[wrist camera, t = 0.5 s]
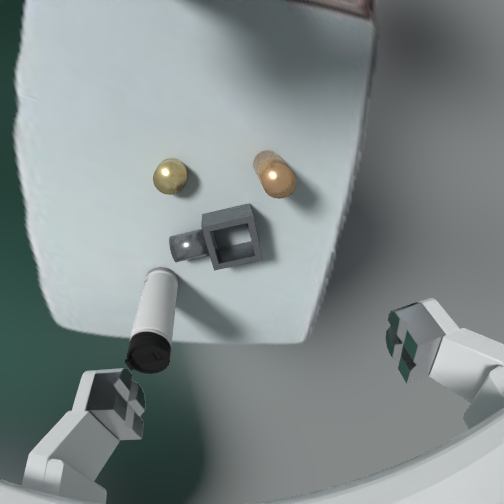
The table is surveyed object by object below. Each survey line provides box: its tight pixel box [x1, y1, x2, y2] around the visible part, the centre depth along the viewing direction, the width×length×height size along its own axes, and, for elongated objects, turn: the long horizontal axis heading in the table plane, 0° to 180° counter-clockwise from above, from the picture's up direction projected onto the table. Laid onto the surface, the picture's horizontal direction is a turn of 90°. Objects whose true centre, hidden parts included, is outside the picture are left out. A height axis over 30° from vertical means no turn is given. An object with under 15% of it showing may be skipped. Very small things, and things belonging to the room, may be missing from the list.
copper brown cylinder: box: [253, 151, 296, 198], centre depth 44 cm, size 4×4×10 cm
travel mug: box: [125, 268, 178, 374], centre depth 48 cm, size 6×7×20 cm
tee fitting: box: [169, 204, 262, 270], centre depth 51 cm, size 8×14×5 cm, turn 101°
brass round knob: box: [153, 158, 187, 195], centre depth 46 cm, size 5×5×3 cm
